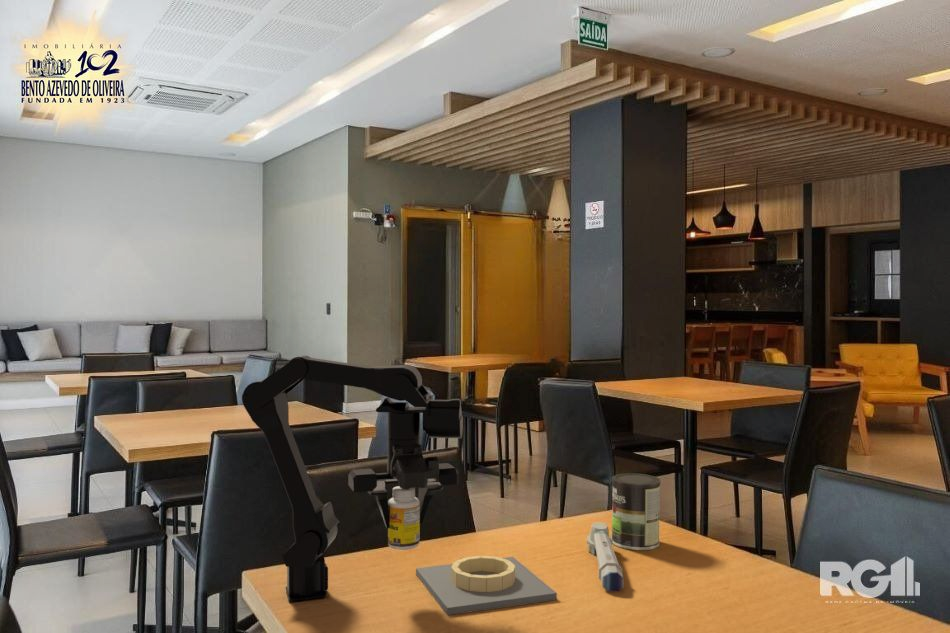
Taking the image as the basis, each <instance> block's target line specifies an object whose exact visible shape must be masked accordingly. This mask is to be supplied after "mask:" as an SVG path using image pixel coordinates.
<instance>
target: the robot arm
mask: <svg viewBox="0 0 950 633" xmlns="http://www.w3.org/2000/svg"><path fill="white" fill-rule="evenodd" d="M304 380H307V381H314V382H321V383H326V384H327V383H328V384H335V385H342V386H348V387H355V388H361V389H366V390H369V391H372V392H374V393H376V394H378V395H380V396H382V397H386V398H384V399H383V401H382V403H381V404H380V405H379V406H378V407H376V408H375V412H377V413H387V441H386V447H387V464H386V470H387V472H379V473H376V472H375V471H374V470H373V469H372V468H359V469H351V470H350V471H349V473H348V475H347V476H348V477H347V478H348V482H347V484H348V486H349V488H350V489H351V491H352V492H353V493H365V492H366V493H368V494H369V495H370V496H374V498H375V501H376V503H377V506H378V508H379V512H380V515H381V518H382V519H383V523H384V526H385V527H386V529H388V528H389V510H388V501H389V499H388V497H389V496H388V495H389V491H388V490H387V489H386V485H387V484H389V485H390V484H398V486H399V487H400V488H402V489H410V488H415V489H416V488H418V492H417V493H418V494H417V495H418V497H417V498H418V499H419V501H420V526H422V525H423V523H424V521H425V517H426V515H427V511H428V510H429V509H428V508H429V505H430V503H431V501H432V499H433V497H434V496H435V494H436V493H437V492H438V491H442V490H443V488H444V486H453V485H458V484H459V483H460V475H459V474H460V473H459V470H458V469H457V468H456V467H455V466H453V465H452V464H450V463H449V462H444V463H440V460H439V458H438V456H426V457H424V455H423V450H422V449H423V448H422V444H421V413H422V431H423V433H425V435H427V434H428V437H429V438H430V439H462V437H463V432H464V430H463V429H464V426H463V425H464V416H463V414H462V413H463V411H462V400H461V398H451V399H433V397H432V395H431V394H430V393H429V391H428V390H427V389H426V387H425V386H424V384H423V378H422V375H421V373H420V371H419V370H418V369H417V367H415V366H413V365H410V364H396V365H393V364H392V365H380V366H376V365H375V366H370V365H364V364H355V363H349V362H344V361H343V362H342V361H336V360H335V361H334V360H327V359H321V358H315V357H311V356H309V355H299V356H295V357H292V359H290V360H289V361H288V362H287V363H286V364H285V365H284V366H282V367H281V368H279V369H278V370H276V371H274V372H273V373H272V374H270V375H268V376H267V377H266V378H264V379H260V380H258V381H255V382H251V383H249V384H248V385H247V386H246V387H245V388H244V390H243V392H242V395H241V402H242V405H243V407H244V409H245V410H246V413H247V414H248V416H249V417H250V419H251V421H252V422H253V424H255V425H256V427H258V428H259V430H261V432H262V434H264V436H265V439H266V442H267V444H268V448H269V450H270V453H271V455H272V458H273V460H274V463H275V466H276V468H277V471H278V474H279V477H280V480H281V481H282V484H283V487H284V489H285V492H286V494H287V497H288V500H289V503H290V505H291V511H292V529H293V534H294V540H295V542H294V543H293V544H292V545H291V546H290V547H289V548H288V549H287V550H286V551H285V552H284V553H283V554H282V559H283V563H284V564H285V565H284V566H285V567H286V573H287V574H286V586H285V592H286V595H288V596H287V599H289V600H288V601H289V602H290V601H292V602H299V601H298V600H300V601H306V600H316V599H323V598H324V599H325V598H327V596H328V594H327V591H328V590H329V567H328V565H327V563H326V562H325V561H326V559H325V557H324V555H323V554H324V553H325V552H326V550H327V549H328V548H329V546H330V545H331V544H332V543H333V542H334V541H335V539H336V537H337V534H338V526H337V525H338V523H340V520H339V519H338V518H337V517H336V515H335V513H334V507H333V504H332V502H331V501H328V502H326V503H325V504H324V503H323V502H322V501H321V500H320V499H319V498H318V496H317V495H316V491H315V489H314V487H313V483H312V481H311V479H310V476H309V474H308V471H307V468H306V466H305V462H304V460H303V457H302V455H301V452H300V449H299V447H298V444H297V441H296V439H295V436H294V434H293V431H292V429H291V426H290V423H289V421H290V418H289V417H290V416H289V401H288V397H287V395H288V394H289V393H290V392H292V391H293V390H294V389H295V388H296V387H298V385H299V384H301V383H302V382H303V381H304ZM391 399H392V400H391ZM393 400H396V401H393ZM409 404H410V405H411V406H410V405H409Z"/></svg>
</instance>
